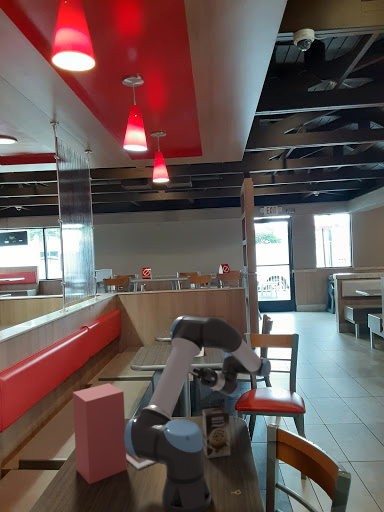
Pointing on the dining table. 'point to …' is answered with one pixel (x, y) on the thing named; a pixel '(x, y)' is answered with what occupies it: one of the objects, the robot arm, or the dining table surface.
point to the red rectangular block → (99, 432)
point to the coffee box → (216, 432)
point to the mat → (138, 462)
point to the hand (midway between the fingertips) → (176, 363)
